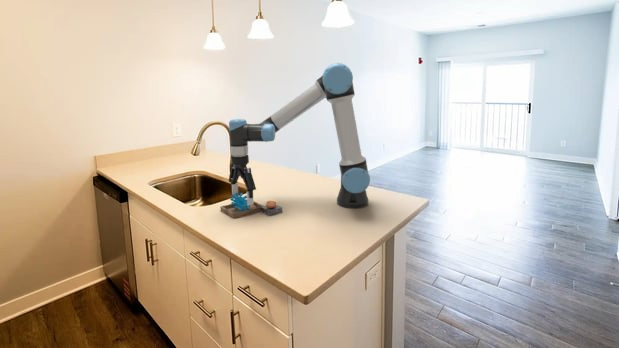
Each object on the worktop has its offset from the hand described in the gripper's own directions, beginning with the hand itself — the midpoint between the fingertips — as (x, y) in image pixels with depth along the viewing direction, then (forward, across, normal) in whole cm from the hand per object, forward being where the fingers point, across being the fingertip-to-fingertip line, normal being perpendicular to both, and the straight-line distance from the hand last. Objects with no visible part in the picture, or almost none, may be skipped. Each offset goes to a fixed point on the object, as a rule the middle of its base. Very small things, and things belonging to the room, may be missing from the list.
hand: (242, 201), depth 158 cm
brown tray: (+5, 0, 0) cm, 5 cm away
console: (+5, -10, -9) cm, 14 cm away
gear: (+4, 0, 0) cm, 4 cm away
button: (+3, -10, -9) cm, 13 cm away
